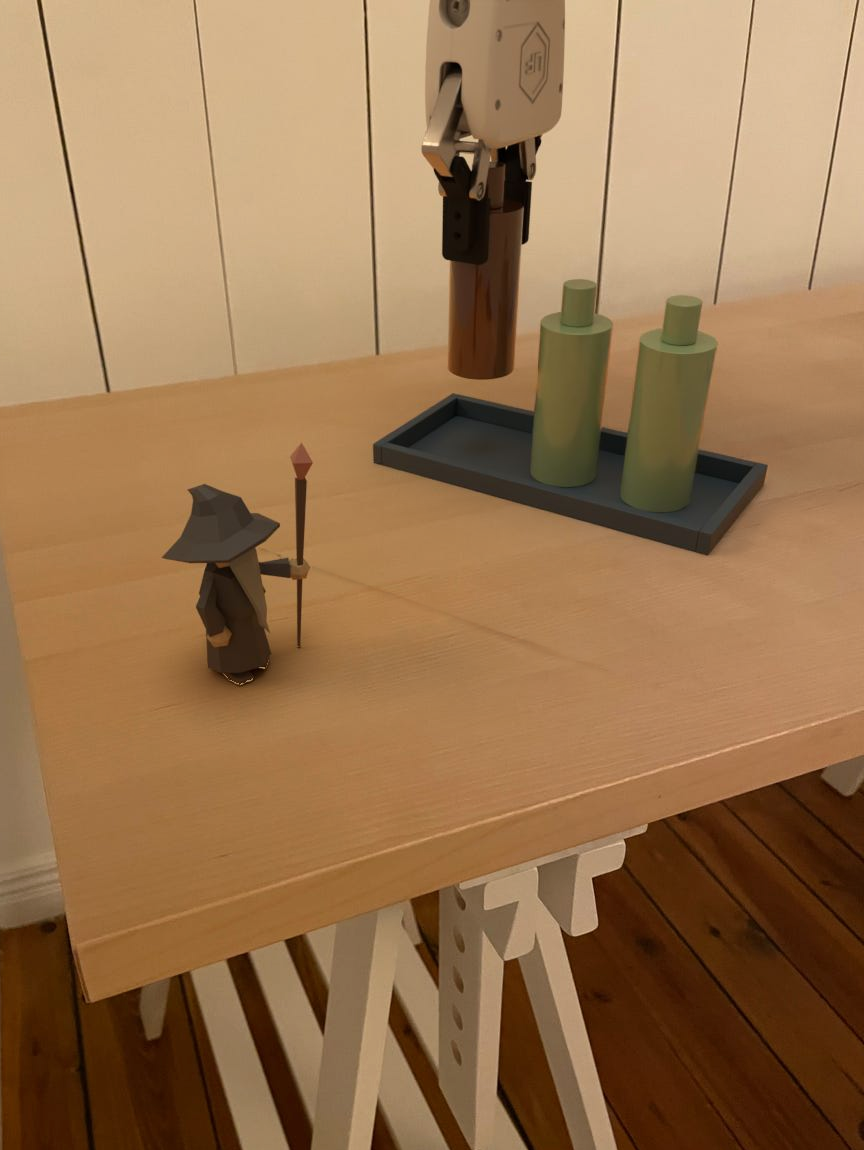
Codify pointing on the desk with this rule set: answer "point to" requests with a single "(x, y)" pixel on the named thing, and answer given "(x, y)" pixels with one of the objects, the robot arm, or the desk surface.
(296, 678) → the desk surface
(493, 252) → the brown bottle
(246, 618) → the wizard figurine
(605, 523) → the tray
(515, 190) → the robot arm
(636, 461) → the green bottle
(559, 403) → the green bottle
